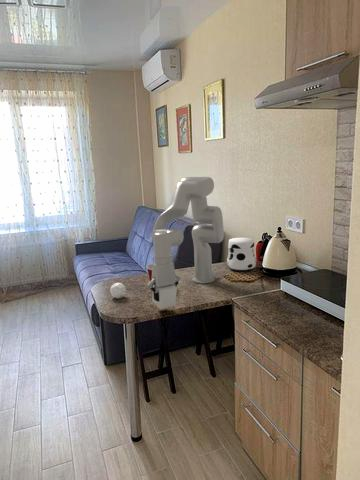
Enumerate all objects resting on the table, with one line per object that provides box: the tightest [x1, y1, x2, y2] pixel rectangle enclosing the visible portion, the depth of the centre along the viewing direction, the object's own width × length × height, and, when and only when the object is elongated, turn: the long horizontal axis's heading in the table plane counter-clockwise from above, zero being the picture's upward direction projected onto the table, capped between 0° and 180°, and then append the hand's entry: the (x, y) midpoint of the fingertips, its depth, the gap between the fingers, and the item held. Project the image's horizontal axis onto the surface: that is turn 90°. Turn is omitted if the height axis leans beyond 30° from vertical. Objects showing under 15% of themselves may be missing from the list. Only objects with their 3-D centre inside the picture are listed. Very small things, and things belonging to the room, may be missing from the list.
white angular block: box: [151, 284, 178, 310], centre depth 164 cm, size 8×8×9 cm
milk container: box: [226, 237, 257, 272], centre depth 223 cm, size 17×17×18 cm
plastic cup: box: [145, 263, 154, 287], centre depth 197 cm, size 11×11×12 cm
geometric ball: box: [109, 282, 126, 300], centre depth 185 cm, size 8×8×8 cm
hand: (164, 298), depth 164 cm, fingers closed on white angular block, 7 cm apart
